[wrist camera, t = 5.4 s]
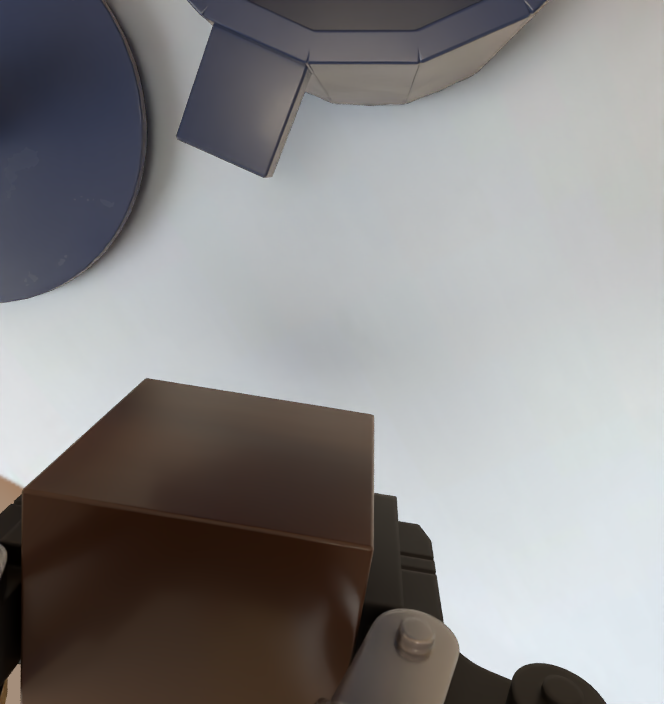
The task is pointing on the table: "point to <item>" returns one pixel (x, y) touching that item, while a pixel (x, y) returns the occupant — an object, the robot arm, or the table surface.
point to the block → (198, 552)
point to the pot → (330, 62)
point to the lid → (64, 140)
